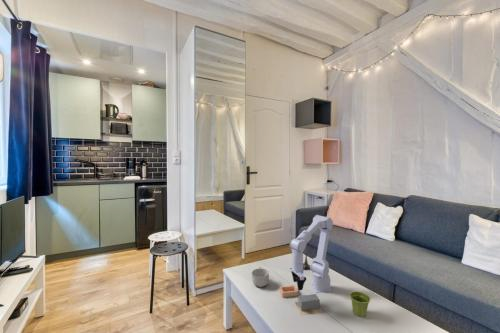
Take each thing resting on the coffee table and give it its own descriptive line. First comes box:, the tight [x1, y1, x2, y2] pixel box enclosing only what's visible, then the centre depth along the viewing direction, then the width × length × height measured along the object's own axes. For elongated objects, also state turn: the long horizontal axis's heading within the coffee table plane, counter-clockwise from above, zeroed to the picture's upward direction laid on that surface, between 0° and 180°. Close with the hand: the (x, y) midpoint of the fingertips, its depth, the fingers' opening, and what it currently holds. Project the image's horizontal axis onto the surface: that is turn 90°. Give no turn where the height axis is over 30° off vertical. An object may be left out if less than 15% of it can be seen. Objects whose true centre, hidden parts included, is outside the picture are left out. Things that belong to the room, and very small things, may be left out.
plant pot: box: [349, 290, 371, 318], centre depth 116 cm, size 9×9×9 cm
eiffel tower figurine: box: [303, 251, 311, 271], centre depth 162 cm, size 15×10×13 cm
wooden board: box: [294, 301, 324, 316], centre depth 120 cm, size 12×10×1 cm
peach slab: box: [279, 284, 299, 299], centre depth 132 cm, size 9×6×3 cm, turn 98°
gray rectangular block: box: [297, 293, 321, 311], centre depth 120 cm, size 10×5×5 cm, turn 98°
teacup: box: [251, 266, 270, 288], centre depth 144 cm, size 14×11×8 cm
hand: (297, 285), depth 124 cm, fingers open, 7 cm apart
